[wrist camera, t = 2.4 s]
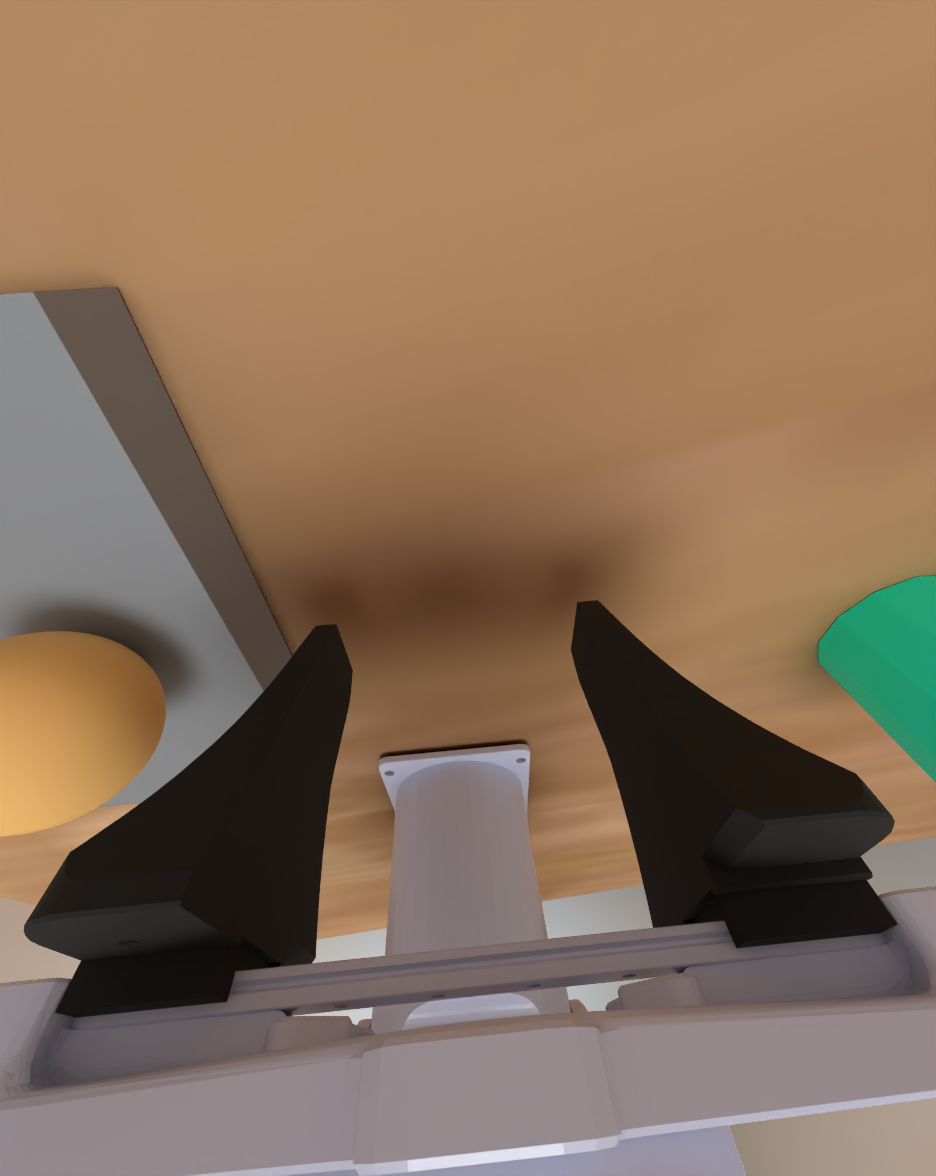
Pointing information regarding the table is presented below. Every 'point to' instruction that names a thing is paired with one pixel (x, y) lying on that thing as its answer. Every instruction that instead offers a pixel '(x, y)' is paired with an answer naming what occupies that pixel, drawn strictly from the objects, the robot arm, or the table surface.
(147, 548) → the plate
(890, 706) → the candle
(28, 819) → the ball
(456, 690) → the table surface
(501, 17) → the table surface
